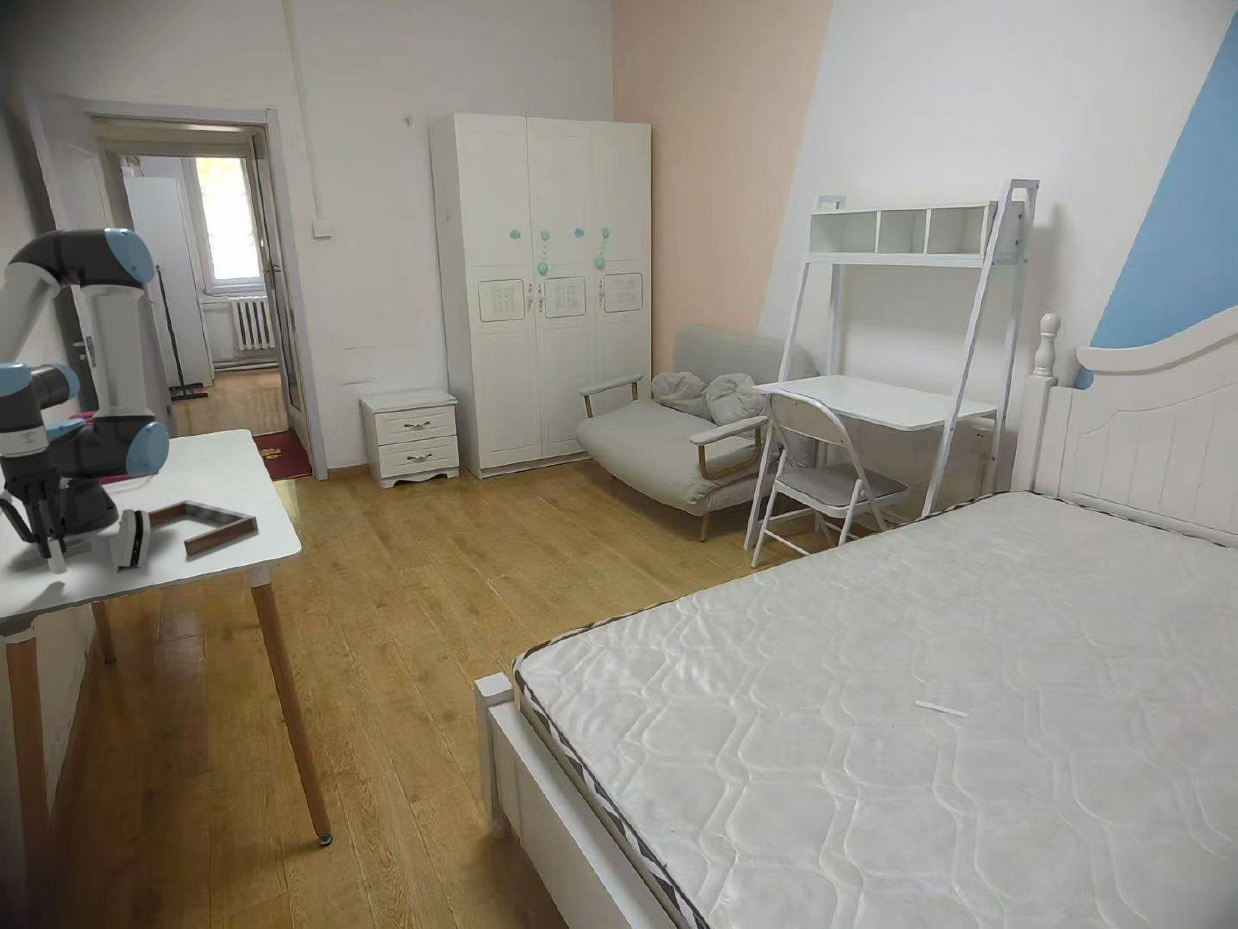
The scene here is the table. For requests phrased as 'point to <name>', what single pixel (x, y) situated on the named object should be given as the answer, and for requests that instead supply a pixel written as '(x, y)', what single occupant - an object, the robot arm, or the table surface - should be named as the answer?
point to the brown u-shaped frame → (232, 520)
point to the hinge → (131, 540)
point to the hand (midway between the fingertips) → (58, 571)
